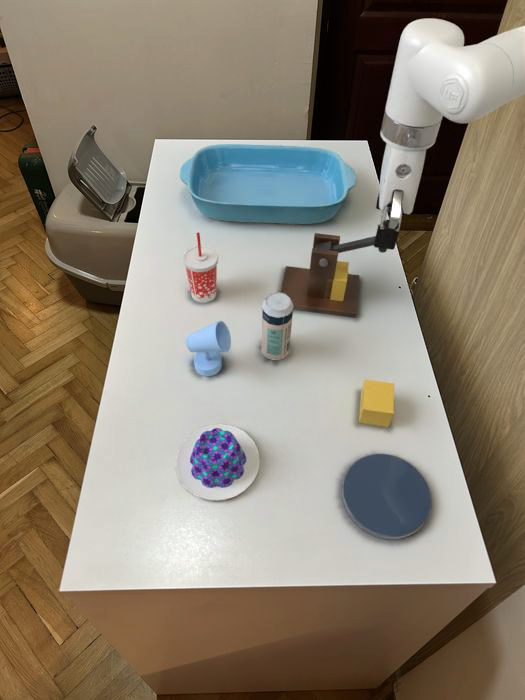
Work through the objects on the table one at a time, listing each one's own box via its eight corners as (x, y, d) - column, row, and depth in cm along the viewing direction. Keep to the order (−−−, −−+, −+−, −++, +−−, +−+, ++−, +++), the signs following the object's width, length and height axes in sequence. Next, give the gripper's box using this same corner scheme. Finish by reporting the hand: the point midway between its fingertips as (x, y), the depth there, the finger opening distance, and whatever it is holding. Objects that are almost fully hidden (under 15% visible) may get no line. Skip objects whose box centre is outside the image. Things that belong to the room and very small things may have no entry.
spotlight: (233, 356, 89) (193, 351, 89) (232, 315, 81) (187, 311, 82) (229, 379, 86) (187, 375, 86) (227, 340, 78) (181, 335, 78)
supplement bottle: (282, 336, 92) (286, 287, 82) (293, 357, 89) (298, 308, 80) (257, 344, 91) (257, 294, 81) (267, 365, 88) (269, 316, 78)
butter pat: (389, 397, 84) (394, 383, 81) (388, 427, 81) (393, 413, 78) (360, 393, 85) (364, 379, 81) (358, 423, 81) (363, 409, 78)
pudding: (232, 518, 72) (230, 502, 67) (159, 477, 75) (154, 460, 71) (274, 448, 78) (275, 430, 74) (206, 414, 82) (203, 395, 78)
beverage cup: (227, 290, 99) (224, 230, 88) (206, 310, 95) (201, 250, 84) (201, 277, 101) (195, 217, 90) (180, 296, 97) (171, 236, 86)
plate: (427, 464, 77) (429, 460, 76) (430, 546, 70) (432, 543, 69) (345, 451, 78) (346, 447, 77) (338, 531, 71) (340, 528, 70)
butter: (344, 282, 99) (348, 262, 95) (343, 301, 96) (346, 281, 92) (326, 280, 99) (329, 259, 95) (323, 298, 96) (326, 278, 92)
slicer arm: (389, 232, 89) (385, 221, 87) (388, 254, 85) (384, 243, 84) (321, 248, 94) (316, 238, 92) (318, 269, 90) (313, 259, 89)
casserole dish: (346, 173, 123) (351, 144, 118) (356, 234, 109) (362, 205, 104) (188, 169, 123) (185, 140, 118) (177, 230, 109) (173, 201, 104)
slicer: (358, 279, 101) (369, 230, 92) (355, 317, 95) (366, 268, 86) (285, 270, 102) (289, 220, 93) (278, 307, 96) (280, 258, 87)
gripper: (441, 165, 66) (408, 267, 79) (436, 98, 77) (407, 198, 90) (380, 158, 67) (358, 260, 80) (383, 93, 77) (363, 193, 91)
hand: (384, 227), depth 85 cm, fingers open, 9 cm apart
